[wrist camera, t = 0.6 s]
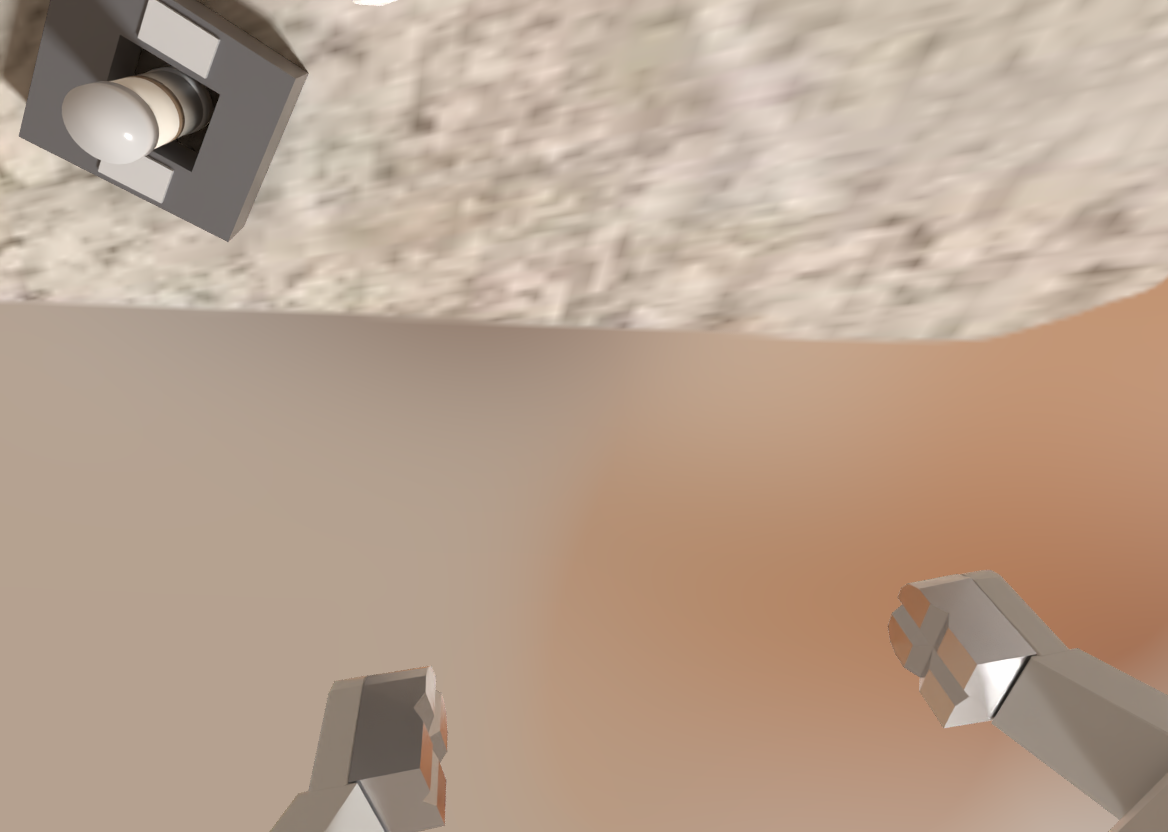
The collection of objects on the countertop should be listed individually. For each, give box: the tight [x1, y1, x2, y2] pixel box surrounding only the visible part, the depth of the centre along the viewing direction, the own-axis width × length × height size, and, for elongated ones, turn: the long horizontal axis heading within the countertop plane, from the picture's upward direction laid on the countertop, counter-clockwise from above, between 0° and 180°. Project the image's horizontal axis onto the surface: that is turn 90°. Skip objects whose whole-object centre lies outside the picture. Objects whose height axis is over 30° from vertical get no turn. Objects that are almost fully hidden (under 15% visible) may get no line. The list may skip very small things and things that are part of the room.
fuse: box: [62, 66, 213, 164], centre depth 36 cm, size 4×4×10 cm
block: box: [19, 0, 308, 242], centre depth 38 cm, size 12×12×4 cm
